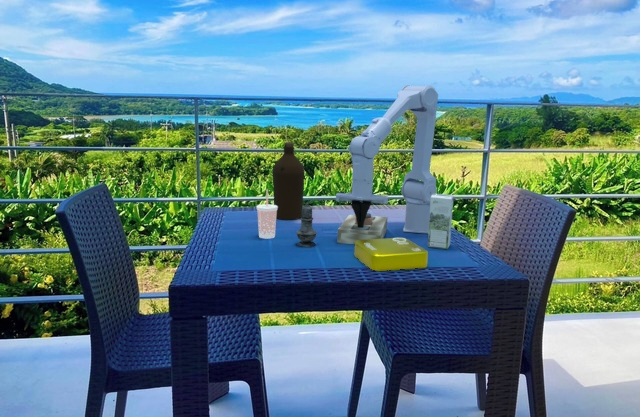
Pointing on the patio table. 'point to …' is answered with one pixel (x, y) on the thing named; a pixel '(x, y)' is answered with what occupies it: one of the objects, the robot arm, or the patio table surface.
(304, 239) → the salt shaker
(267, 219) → the beverage cup
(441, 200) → the syrup box
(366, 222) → the beige grey-dot cube
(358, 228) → the cube with pale circle
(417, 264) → the element tile
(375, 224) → the grey square block
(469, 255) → the patio table surface
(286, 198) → the olive oil
